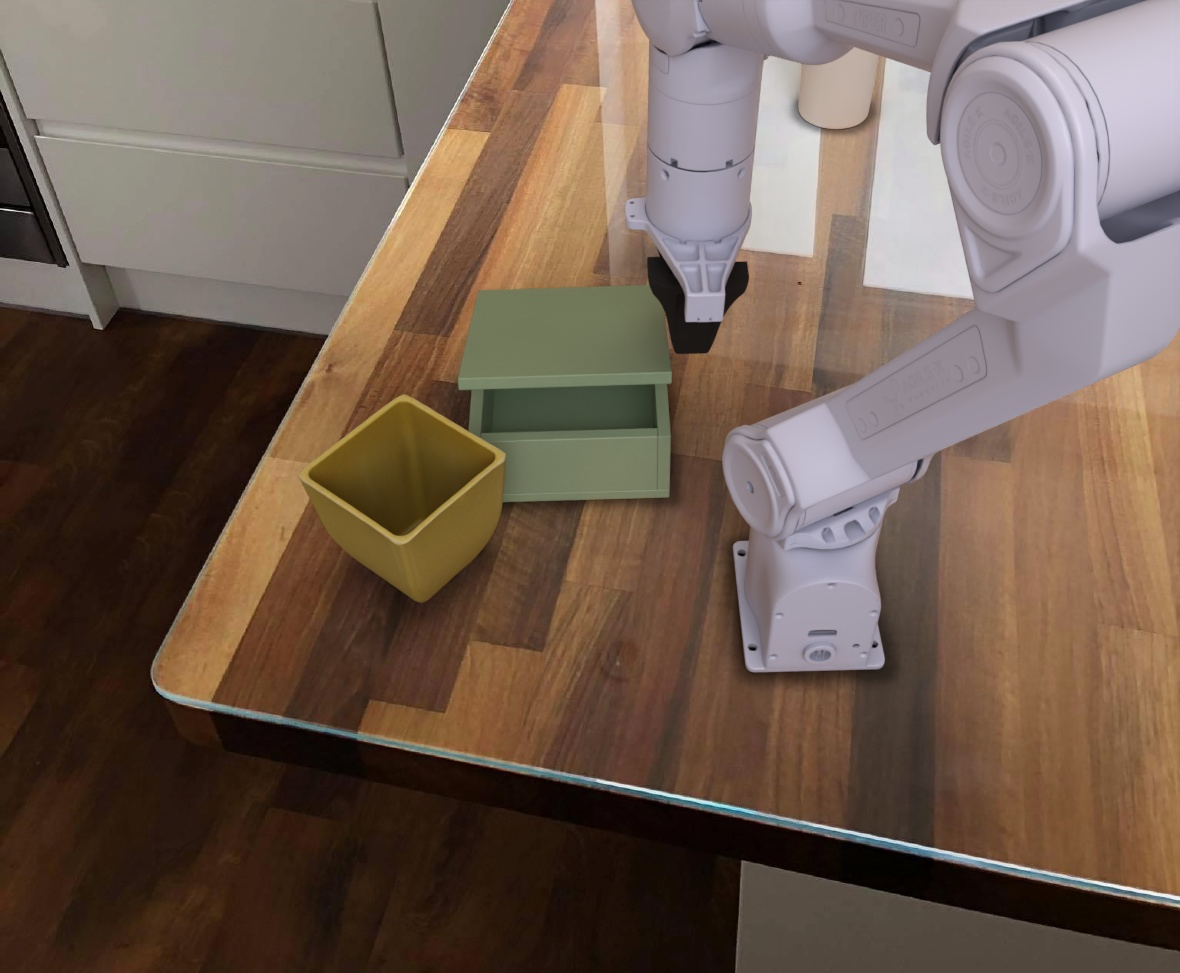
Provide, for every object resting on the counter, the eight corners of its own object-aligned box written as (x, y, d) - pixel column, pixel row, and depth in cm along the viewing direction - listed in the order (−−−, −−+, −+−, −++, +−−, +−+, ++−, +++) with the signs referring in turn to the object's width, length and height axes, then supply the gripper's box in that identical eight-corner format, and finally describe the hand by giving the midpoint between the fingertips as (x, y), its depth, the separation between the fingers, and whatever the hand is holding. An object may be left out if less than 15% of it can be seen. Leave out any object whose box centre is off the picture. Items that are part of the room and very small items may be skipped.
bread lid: (672, 384, 72) (672, 371, 71) (458, 390, 72) (457, 378, 72) (660, 294, 84) (660, 283, 84) (478, 300, 85) (477, 289, 84)
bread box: (669, 497, 80) (670, 436, 75) (476, 503, 80) (467, 442, 76) (660, 356, 89) (660, 294, 84) (487, 362, 89) (478, 300, 85)
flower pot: (423, 487, 81) (402, 389, 74) (521, 550, 77) (509, 452, 71) (324, 570, 77) (293, 474, 70) (424, 641, 73) (401, 546, 66)
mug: (857, 138, 106) (876, 6, 98) (784, 121, 109) (796, -9, 100) (892, 82, 112) (913, -47, 103) (822, 67, 114) (837, -61, 106)
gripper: (621, 66, 69) (621, 254, 80) (629, 228, 60) (627, 417, 70) (746, 63, 69) (729, 252, 80) (773, 225, 60) (750, 415, 70)
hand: (689, 330), depth 75 cm, fingers open, 3 cm apart
